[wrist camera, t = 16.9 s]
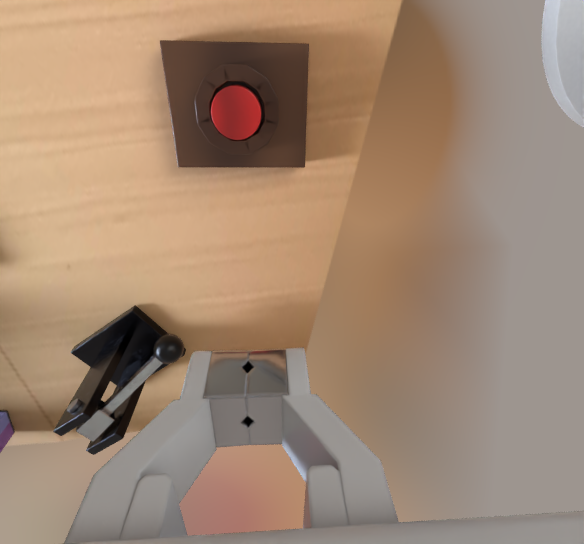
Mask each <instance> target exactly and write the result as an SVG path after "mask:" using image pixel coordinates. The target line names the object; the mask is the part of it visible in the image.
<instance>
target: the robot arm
mask: <svg viewBox="0 0 584 544" xmlns="http://www.w3.org/2000/svg"><path fill="white" fill-rule="evenodd" d="M264 444H265V445H267V444H282V446H283V448H284V449H285V451H286V452H287V454H288V455H289V457H290V459H291V460H292V462H293V463H294V465H295V466H296V468H297V469H298V471H299V473H300V474H301V476H302V477H303V479H304V480H305V482H306V490H305V506H304V521H303V529H287V530H271V531H255V532H241V533H240V532H239V533H224V534H208V535H192V536H187V532H186V529H185V525H184V521H183V517H182V514H181V510H180V507H179V503H180V502H181V500H182V499H183V497H184V496H185V495H186V493H187V492H188V490H189V489H190V487H191V486H192V484H193V483H194V481H195V480H196V479H197V477H198V476H199V474H200V473H201V471H202V470H203V468H204V467H205V465H206V464H207V463H208V461H209V460H210V458H211V457H212V455H213V454H214V452H215V451H216V447H227V446H241V445H264ZM64 544H584V511H574V512H558V513H542V514H526V515H512V516H511V515H510V516H494V517H480V518H479V517H478V518H464V519H463V518H462V519H447V520H431V521H416V522H402V523H401V522H398V518H397V515H396V511H395V508H394V504H393V501H392V498H391V494H390V491H389V487H388V484H387V480H386V477H385V473H384V470H383V467H382V463H381V461H380V460H379V459H378V458H377V456H376V455H375V454H374V453H373V452H372V451H371V450H370V449H369V448H368V447H367V446H366V445H365V444H364V443H363V442H362V441H361V440H360V439H359V438H358V437H357V436H356V435H355V434H354V433H353V432H352V431H351V429H349V428H348V426H347V425H346V424H345V423H344V422H343V421H342V420H341V419H340V418H339V417H338V416H337V415H336V414H335V413H334V412H333V411H332V410H331V409H330V408H329V407H328V406H327V405H326V404H325V403H324V402H323V401H322V399H320V397H319V396H318V395H316V394H311V392H310V385H309V377H308V371H307V363H306V355H305V350H304V348H286V349H263V350H213V351H194V352H193V354H192V355H191V359H190V362H189V366H188V370H187V374H186V377H185V381H184V385H183V389H182V392H181V396H180V400H173V401H172V402H171V403H170V404H169V405H168V406H167V407H166V408H165V409H163V410H162V411H161V412H160V413H159V414H158V415H157V416H156V417H155V418H154V419H153V420H152V421H151V422H150V423H149V424H147V425H146V426H145V427H144V428H143V429H142V430H141V431H140V432H139V433H138V434H137V435H136V436H135V437H134V438H133V439H132V440H130V442H128V443H127V444H126V445H125V446H124V447H123V448H122V449H121V450H120V451H119V452H118V453H117V454H115V456H113V457H112V458H111V459H110V460H109V461H108V462H107V463H106V464H105V465H104V466H103V467H102V468H101V469H100V470H98V471H97V472H96V473H95V474H94V476H93V478H92V480H91V482H90V485H89V487H88V489H87V491H86V494H85V496H84V499H83V501H82V503H81V505H80V508H79V510H78V512H77V515H76V517H75V519H74V522H73V524H72V526H71V528H70V531H69V533H68V536H67V538H66V540H65V542H64Z"/></svg>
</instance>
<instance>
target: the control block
mask: <svg viewBox="0 0 584 544" xmlns="http://www.w3.org/2000/svg"><path fill="white" fill-rule="evenodd" d="M160 46H161V53H162V60H163V67H164V73H165V80H166V87H167V94H168V101H169V108H170V115H171V122H172V129H173V136H174V143H175V149H176V156H177V163H178V167H305V147H306V117H307V87H308V58H309V44H298V43H254V42H210V41H166V40H160ZM230 85H241V86H244V87H247V88H248V89H250V90H251V91H252V92H253V93H254V94H255V95H256V96H257V98H258V100H259V102H260V105H261V121H260V124H259V127H258V129H257V130H256V131H255V133H254V134H253V135H251V136H250V137H248V138H246V139H242V140H234V139H230V138H227V137H226V136H224V135H223V134H221V133H220V132H219V131H218V130H217V128H216V127H215V125H214V123H213V120H212V116H211V105H212V102H213V99H214V97H215V96H216V94H217V93H218V92H219V91H220V90H222V89H223V88H225V87H227V86H230Z"/></svg>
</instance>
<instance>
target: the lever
mask: <svg viewBox="0 0 584 544" xmlns="http://www.w3.org/2000/svg"><path fill="white" fill-rule="evenodd" d="M153 350H154V355H153V356H152V357H151V358H150V359H149V360H148V361H147V362H146V363H145V364H144V365H143V366H142V367H141V368H140V369H139V370H138V371H137V372H136V373H135V374H134V375H133V376H132V377H131V378H130V379H129V380H127V381H126V382H125V383H124V384H123V385H122V386H121V387H120V388H119V389H118V390H117V391H116V392H115V393H114V394H113V395H112V396H111V397H110V398H109V399H108V400H107V401H106V402H103V401H102V400H100V402H99V404H98V406H97V408H96V410H95V412H94V414H93V416H92V418H91V419H89V420H87V421H86V422H84V423H82V424H81V425H79V426H77V427H76V432H78V433H80V434H81V435H83V436H85V437H86V438H88V439H90V440H91V441H93V442H94V441H95V440H96V439H97V438H98V437H99V436H100V435H101V434H102V433H103V432H104V431H105V430H106V429H107V428H108V427H109V426H110V425H111V424H112V423H113V422H114V421H115V412H114V411H115V410H116V409H117V408H118V407H119V406H120V405H121V404H122V403H123V402H124V401H125V400H126V399H127V398H128V397H129V396H130V395H131V394H132V393H133V392H134V391H135V390H136V389H137V388H138V387H139V386H140V385H141V384H142V383H143V382H144V381H145V380H146V379H147V378H148V377H149V376H150V375H151V374H152V373H153V372H154V371H155V370H157V369H158V368H159V367H160V366H161V365H162V364H163V363H165V364H170V363H174V362H176V361H177V360H179V359H180V357H181V356H182V354H183V351H184V345H183V342H182V340H181V339H180V338H179V337H177V336H176V335H172V334H168V335H164V336H162V337H160V338H159V339H158V340H157V341H156V343H155V345H154V349H153Z"/></svg>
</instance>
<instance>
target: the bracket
mask: <svg viewBox="0 0 584 544" xmlns="http://www.w3.org/2000/svg"><path fill="white" fill-rule="evenodd" d="M164 335H168V333H167V332H166V331H164V330H163V329H162V328H161V327H160V326H159V325H157V324H156V323H155V322H154V321H153V320H152V319H151V318H149V317H148V316H147V315H146V314H145V313H144V312H142V311H141V310H140V309H139V308H138V307H137V306H134V307H132V308H131V309H129V310H128V311H126V312H125V313H123V314H122V315H120V316H119V317H117V318H116V319H114V320H113V321H111V322H110V323H108V324H107V325H105V326H104V327H103V328H101V329H100V330H98V331H97V332H95V333H94V334H92V335H91V336H89V337H88V338H86V339H85V340H83V341H82V342H80V343H79V344H77V345H76V346H75V347H74V348H73V349H72V351H71V353H72V354H73V355H75V356H76V357H78V358H79V359H80V360H82V361H83V362H85V363H86V364H87V365H89V366H90V367H91V368H90V370H89V371H88V373H87V375H86V376H85V378H84V380H83V382H82V383H81V385H80V387H79V388H78V390H77V392H76V393H75V395H74V397H73V398H72V400H71V402H70V404H69V405H68V407H67V409H66V410H65V412H64V414H63V415H62V417H61V419H60V420H59V422H58V424H57V425H56V427H55V429H54V431H53V432H55V433H57V434H58V435H60V436H62V435H64V434H66V433H67V432H69V431H71V430H72V429H74V428H76V427H77V426H79V425H81V424H82V423H84V422H86V421H87V420H89V419H91V418H92V416H93V414H94V412H95V410H96V408H97V406H98V404H99V402H100V400H101V398H102V396H103V394H104V392H105V390H106V388H107V386H108V384H109V382H110V381H111V382H113V383H114V384H116V385H117V387H116V389H115V391H114V393H115V392H116V391H117V390H118V389H119V388H120V387H121V386H122V385H123V384H124V383H125V382H126V381H127V380H129V379H130V378H131V377H132V376H133V375H134V374H135V373H136V372H137V371H138V370H139V369H140V368H141V367H142V366H143V365H144V364H145V363H146V362H147V361H148V360H149V359H150V358H151V357H152V356H153V355H154V350H153V349H154V345H155V343H156V341H157V340H158V339H159V338H160V337H162V336H164ZM185 351H186V349H185V348H184V351H183V354H182V356H184V354H185ZM182 356H181V357H182ZM167 365H169V364H165V363H163V364H162V365H161V366H160V367H159V368H158V369H157V370H155V371H154V372H153V373H152V374H154V373H156V372H157V371H159V370H161V369H162V368H164V367H166V366H167ZM152 374H151V375H152ZM151 375H150V376H151ZM145 381H146V380H145ZM145 381H144V382H143V383H142V384H141V385H140V386H139V387H138V388H137V389H136V390H135V391H134V392H133V393H132V394H131V395H130V396H129V397H128V398H127V399H126V400H125V401H124V402H123V403H122V404H121V405H120V406H119V407H118V408H117V409H116V410H115V411H114V412H115V421H114V422H113V423H112V424H111V425H110V426H109V427H108V428H107V429H106V430H105V431H104V432H103V433H102V434H101V435H100V436H99V437H98V438H97V439H96V440H95V441H94V442H93V441H90V443H89V445H88V448H87V450H86V451H88V452H89V453H91V454H93V455H94V454H96V453H98V452H100V451H102V450H103V449H105V448H106V447H109V446H110V445H112V444H114V443H116V442H118V441H119V440H121V439H122V438H123V437H124V435H125V432H126V430H127V427H128V425H129V422H130V420H131V417H132V415H133V412H134V409H135V407H136V404H137V402H138V399H139V397H140V394H141V391H142V389H143V386H144V384H145ZM114 393H113V394H114Z"/></svg>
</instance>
